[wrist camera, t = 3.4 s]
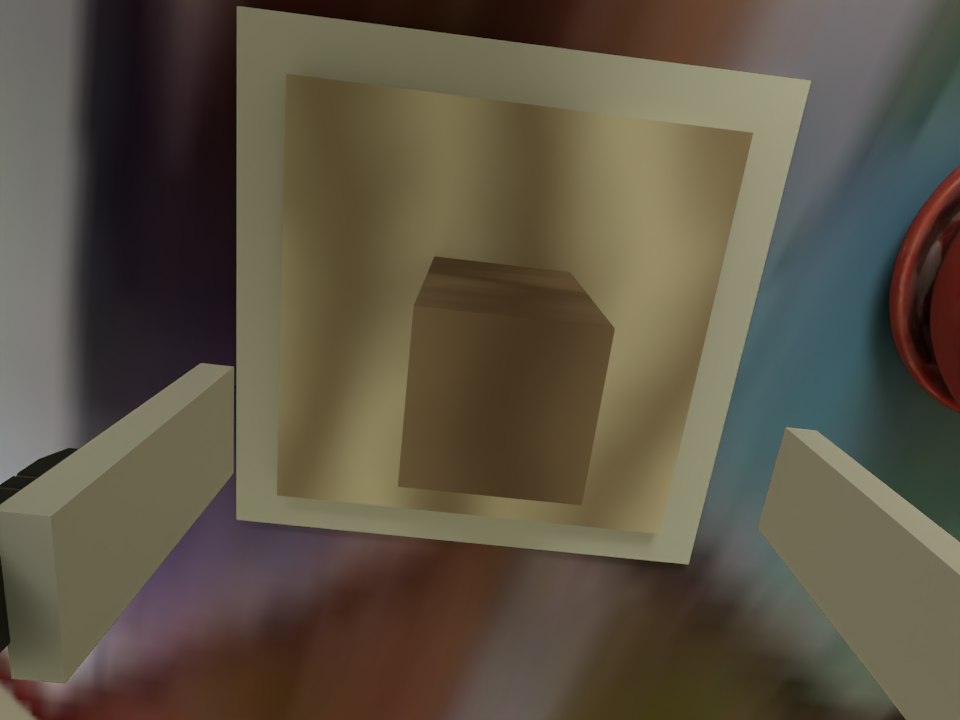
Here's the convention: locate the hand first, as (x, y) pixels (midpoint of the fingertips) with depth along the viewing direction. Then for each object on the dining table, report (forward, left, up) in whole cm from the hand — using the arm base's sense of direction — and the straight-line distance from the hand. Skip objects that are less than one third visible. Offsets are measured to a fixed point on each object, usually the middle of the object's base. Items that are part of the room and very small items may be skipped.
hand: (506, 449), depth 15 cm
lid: (0, 0, -11) cm, 11 cm away
